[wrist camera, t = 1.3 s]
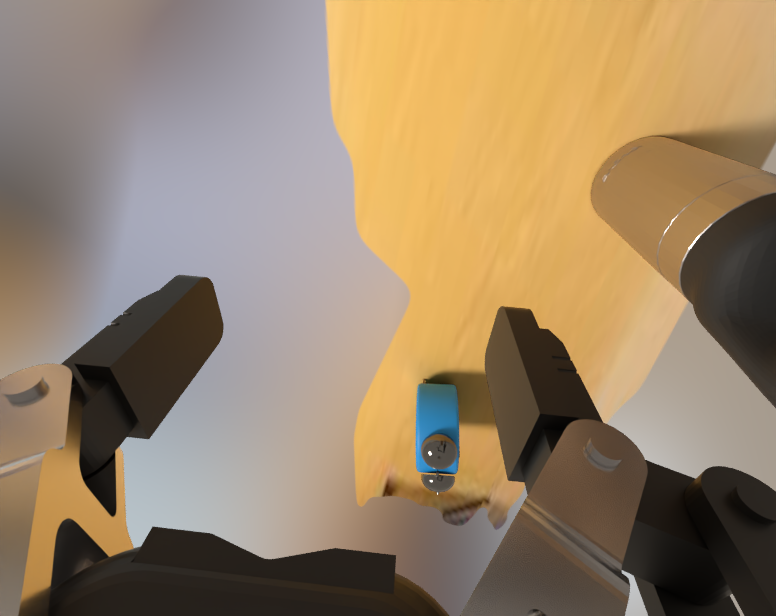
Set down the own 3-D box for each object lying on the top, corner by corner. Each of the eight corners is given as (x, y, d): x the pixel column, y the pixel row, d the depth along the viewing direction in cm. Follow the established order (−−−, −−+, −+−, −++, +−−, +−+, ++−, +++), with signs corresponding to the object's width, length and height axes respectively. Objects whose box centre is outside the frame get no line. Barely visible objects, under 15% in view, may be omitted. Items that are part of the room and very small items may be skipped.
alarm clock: (418, 365, 57) (414, 449, 44) (457, 366, 56) (464, 452, 44) (419, 417, 64) (416, 501, 52) (453, 418, 63) (458, 504, 51)
